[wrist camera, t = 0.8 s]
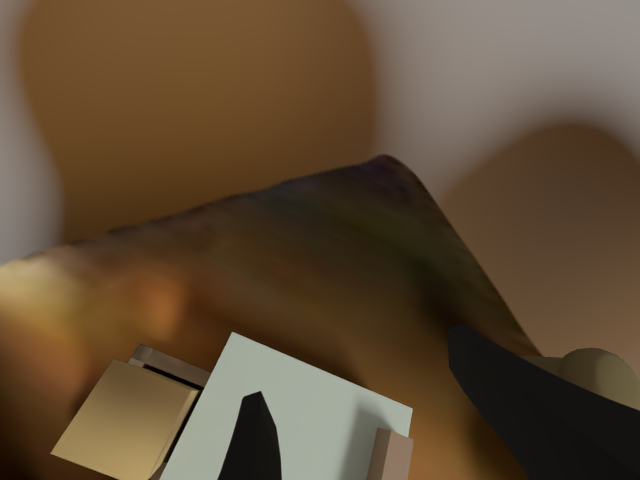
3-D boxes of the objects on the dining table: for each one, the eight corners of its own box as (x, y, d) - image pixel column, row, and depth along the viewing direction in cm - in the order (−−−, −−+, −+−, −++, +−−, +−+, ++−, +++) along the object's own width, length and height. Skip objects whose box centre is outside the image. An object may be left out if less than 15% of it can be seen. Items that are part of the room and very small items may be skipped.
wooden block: (173, 450, 22) (141, 487, 13) (119, 429, 22) (50, 453, 13) (202, 391, 24) (191, 390, 15) (153, 371, 24) (113, 358, 15)
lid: (364, 638, 17) (388, 682, 15) (124, 553, 16) (105, 583, 14) (405, 408, 23) (428, 410, 21) (232, 334, 22) (233, 326, 20)
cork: (466, 391, 30) (581, 390, 20) (489, 342, 33) (598, 321, 23) (516, 437, 29) (659, 459, 20) (535, 383, 32) (667, 379, 23)
